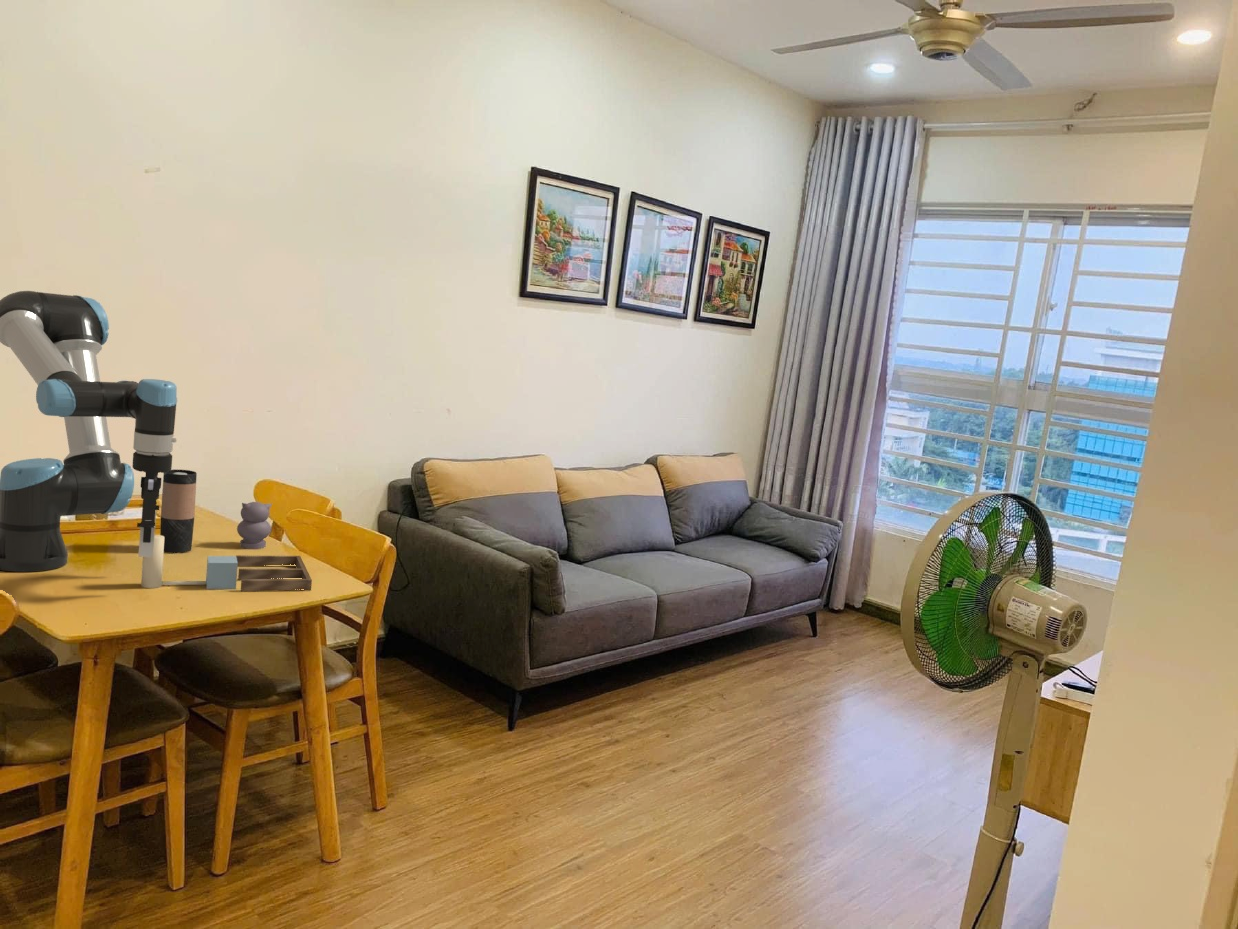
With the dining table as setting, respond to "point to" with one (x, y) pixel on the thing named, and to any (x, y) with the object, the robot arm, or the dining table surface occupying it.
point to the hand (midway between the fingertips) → (146, 547)
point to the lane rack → (273, 573)
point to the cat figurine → (254, 525)
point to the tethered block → (217, 577)
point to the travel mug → (178, 510)
